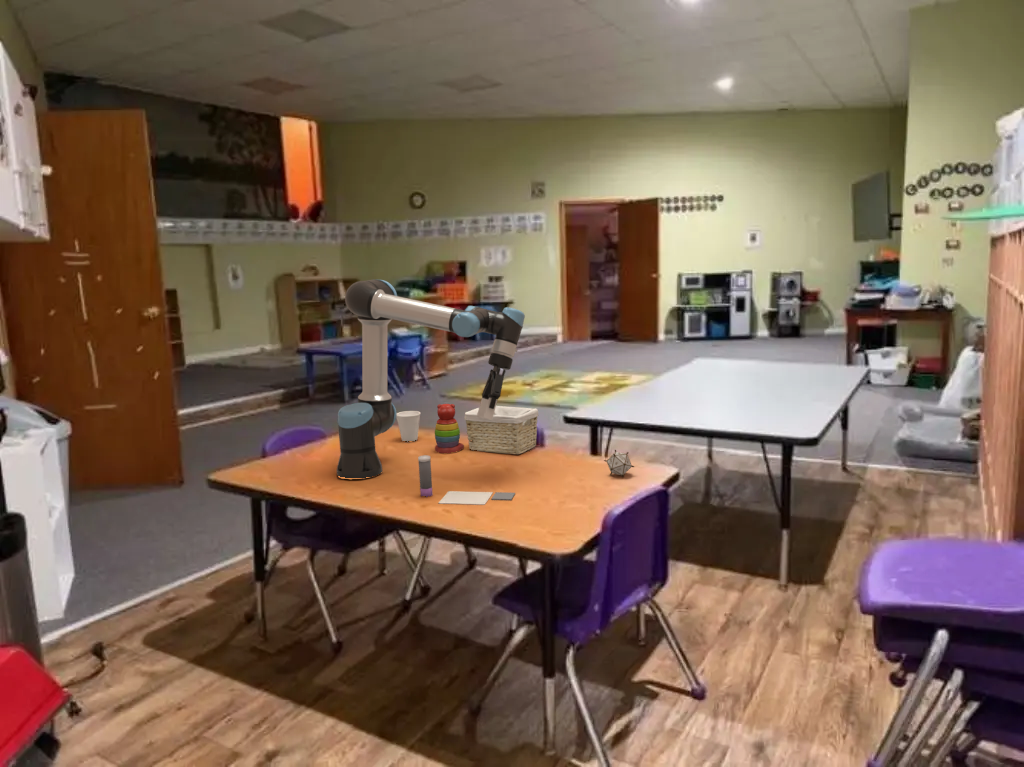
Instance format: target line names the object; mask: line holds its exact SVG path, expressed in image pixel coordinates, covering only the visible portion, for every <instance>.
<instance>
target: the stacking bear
mask: <svg viewBox="0 0 1024 767" xmlns="http://www.w3.org/2000/svg"><path fill="white" fill-rule="evenodd" d="M436 408H437V412H436V413H437V417H438V419H437V421H436V423H435V426H434V427H435V429H434V440H435V442H436V444H435V446H434V451H435V452H436V453H438V452H439V454H444V453H447V454H452V453H451V452H455V453H457V452H456V451H458V452H460V451H462V450H464V448H465V445H464V443H462V442H460V437H461V432H460V427H459V423H458V421H457V419H456V418H455V416H456V405H455V404H454V403H450V404H449V403H443V404H441V403H439V404H437V407H436ZM461 449H462V450H461ZM459 450H460V451H459Z"/></svg>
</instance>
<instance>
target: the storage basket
mask: <svg viewBox="0 0 1024 767" xmlns="http://www.w3.org/2000/svg"><path fill="white" fill-rule="evenodd" d="M478 410H479V407H477V408H473V409H472V410H469V411H466V412H464V421H465V424H466V430H467V431H466V435H467V439H468V446H469V447H468V448H469V450H470V449H471V451H474V450H477V451H476V452H486V453H496V454H506V455H509V454H510V455H521V454H523V453H525V452H527V451H529V450H531V449H533V448H535V447H537V438H538V437H537V434H538V428H537V427H538V425H537V424H538V417H539V410H538V408H530V407H528V408H527V407H514V406H505V405H503V406H502V405H496V408H495V411H494V414H493V418H492V420H490V419H487V418H485V419H483V418H479V417H477V413H478Z"/></svg>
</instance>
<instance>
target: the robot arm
mask: <svg viewBox="0 0 1024 767" xmlns="http://www.w3.org/2000/svg"><path fill="white" fill-rule="evenodd" d="M344 297H345V298H344V300H345V305H346V308H347V309H348V310H349V312H351V313H353V314H354V315H356V316H357V320H358V322H360V323H361V326H362V327H361V329H362V332H361V333H362V335H361V336H362V338H361V339H362V340H361V341H362V344H361V345H362V348H361V350H362V358H361V359H362V361H361V362H362V365H361V366H362V368H361V369H362V370H361V371H362V392H361V393H360V394H359V395H358V396H357V402H355V403H351V404H347V405H344V406H342V407H340V408H339V410H338V412H337V422H336V423H337V425H338V426H337V427H338V429H337V430H338V438H339V451H340V452H339V454H340V455H339V459H338V463H337V466H336V476H337V475H338V476H340V477H345V478H366V477H372V476H376V475H378V474H380V473H381V472H382V473H383V465H382V462H381V460H380V457H379V456H378V453H377V451H376V437H377V436H378V435H380V434H383V433H386V432H387V431H388V430H390V429H391V428H392V427H393V426H394V424H395V422H396V420H397V417H396V416H397V413H398V412H397V409H396V407H395V405H394V403H393V402H392V395H391V394H390V393H389V392H388V325H389V324H390V323H391V321H392V320H395V321H399V322H403V323H408V324H413V325H419V326H422V327H428V328H431V329H436V330H439V331H440V330H441V331H445V332H449V333H450V332H451V333H453V334H456V335H457V336H458V337H461V338H469V337H473V336H474V335H477V334H480V333H487V334H490V335H494V336H495V337H494V341H493V343H492V348H491V353H490V355H489V358H488V361H487V363H488V364H489V365H490V366H493V368H492V369H490V370H489V375H488V377H487V379H486V383H485V385H484V388H483V390H482V393H481V400H480V404H479V407H478V408H479V410H478V413H477V417H479V418H483V419H485V418H487V419H490V420H492V418H493V414H494V411H495V408H496V406H497V403H498V400H499V399H500V397H501V393H502V388H503V383H504V379H505V378H504V377H505V373H506V371H509V370H511V369H512V365H513V361H514V360H513V358H514V357H515V353H517V352H518V349H517V347H518V343H519V340H520V336H521V333H522V330H523V327H524V326H523V325H524V321H525V317H526V316H525V313H524V312H523V311H521V310H519V309H518V308H517V309H516V308H515V307H509V306H507V307H504V308H503V310H502V311H501V312H499V311H494V310H492V309H491V310H490V309H486V308H484V307H480V306H476V305H475V306H473V305H468V306H467V307H466V308H465V309H464V310H463V309H459V308H453V307H450V306H445V305H441V304H435V303H431V302H425V301H421V300H417V299H412V298H406V297H402V296H399V295H398V294H397V290H396V289H395V287H394V286H393V285H392V284H391V283H390V282H388V281H387V280H383V279H367V280H359V281H356V282H354V283H352V284H351V285H349V287H348V288H347V289H346V293H345V294H344ZM382 473H381V474H382ZM381 474H380V475H381ZM378 476H379V475H378ZM376 477H377V476H376Z"/></svg>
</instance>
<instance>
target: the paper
mask: <svg viewBox="0 0 1024 767" xmlns="http://www.w3.org/2000/svg"><path fill="white" fill-rule="evenodd" d="M493 493H494V492H493V491H457V490H454V491H453V490H451V491H450V490H449V491H448V490H447V492H446V494H445V495H444V496H443V497H442V498H441V499H440V500H439V501H438V504H443V505H473V506H474V505H475V506H476V505H477V506H486V504H487V502H488V501H489V499H490V498H492V496H493V495H494V494H493Z"/></svg>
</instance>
